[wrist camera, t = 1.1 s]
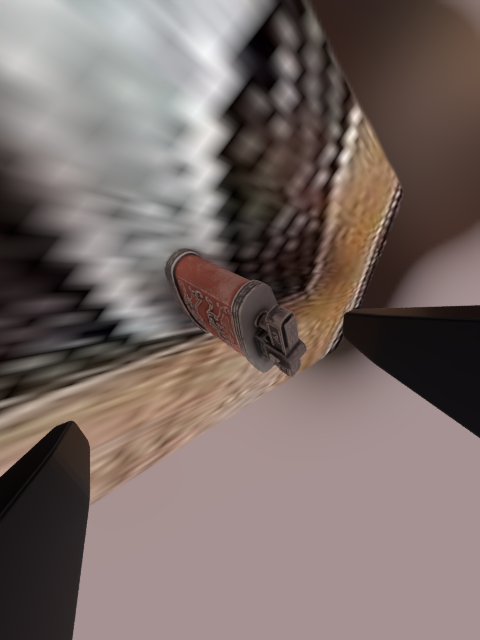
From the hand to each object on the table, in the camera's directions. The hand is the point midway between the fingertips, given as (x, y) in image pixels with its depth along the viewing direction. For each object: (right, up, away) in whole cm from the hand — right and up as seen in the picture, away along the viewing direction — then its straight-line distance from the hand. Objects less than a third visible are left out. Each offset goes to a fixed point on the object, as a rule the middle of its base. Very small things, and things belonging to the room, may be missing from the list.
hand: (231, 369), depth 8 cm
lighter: (-4, +4, +13) cm, 14 cm away
